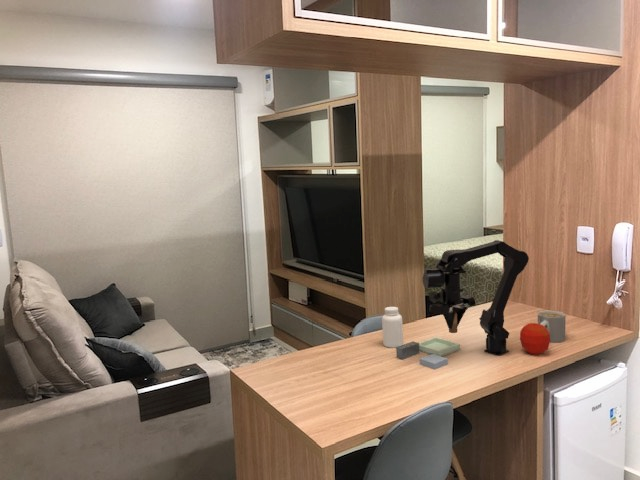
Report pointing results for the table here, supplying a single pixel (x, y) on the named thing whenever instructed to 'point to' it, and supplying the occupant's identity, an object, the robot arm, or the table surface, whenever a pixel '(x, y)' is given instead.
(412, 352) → the dark gray block
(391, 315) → the pill bottle
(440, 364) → the board
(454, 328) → the dowel
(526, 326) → the apple
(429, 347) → the tray
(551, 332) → the coffee mug
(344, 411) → the table surface
